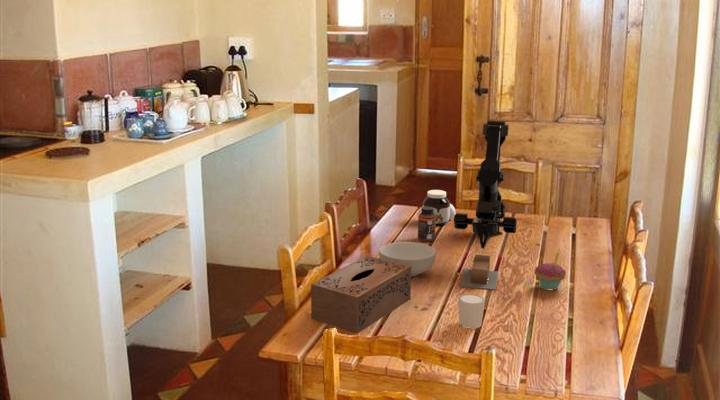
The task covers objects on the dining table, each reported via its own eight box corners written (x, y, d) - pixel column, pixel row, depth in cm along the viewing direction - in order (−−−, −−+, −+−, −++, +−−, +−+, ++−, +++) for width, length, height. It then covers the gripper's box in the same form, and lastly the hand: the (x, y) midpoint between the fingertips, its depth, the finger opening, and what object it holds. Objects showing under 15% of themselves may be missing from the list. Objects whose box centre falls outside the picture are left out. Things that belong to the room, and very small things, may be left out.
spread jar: (420, 225, 268) (421, 194, 265) (423, 216, 279) (424, 186, 276) (454, 227, 267) (455, 196, 263) (455, 218, 277) (457, 187, 274)
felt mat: (464, 269, 227) (464, 268, 226) (498, 272, 224) (498, 271, 224) (460, 286, 213) (460, 285, 213) (495, 290, 211) (495, 289, 211)
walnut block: (475, 254, 225) (471, 268, 214) (490, 255, 224) (487, 269, 213) (474, 268, 227) (470, 283, 215) (489, 269, 226) (486, 284, 214)
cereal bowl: (442, 267, 228) (443, 245, 226) (423, 286, 214) (424, 263, 212) (391, 258, 235) (391, 237, 233) (369, 276, 221) (370, 254, 219)
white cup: (454, 318, 193) (455, 293, 191) (480, 317, 194) (481, 293, 192) (459, 330, 186) (461, 304, 184) (486, 329, 187) (488, 304, 185)
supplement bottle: (434, 243, 250) (435, 210, 247) (416, 241, 251) (417, 209, 248) (436, 237, 256) (437, 205, 252) (418, 236, 257) (419, 204, 254)
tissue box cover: (367, 288, 213) (367, 255, 210) (410, 300, 205) (411, 266, 202) (311, 320, 192) (310, 284, 189) (357, 334, 184) (357, 297, 182)
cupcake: (565, 284, 216) (568, 245, 213) (562, 295, 208) (566, 254, 205) (535, 280, 219) (538, 241, 215) (531, 291, 211) (534, 251, 208)
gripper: (455, 187, 225) (450, 233, 218) (518, 191, 221) (514, 238, 214) (457, 205, 235) (452, 249, 228) (517, 209, 231) (514, 255, 224)
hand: (482, 248), depth 223 cm, fingers closed
